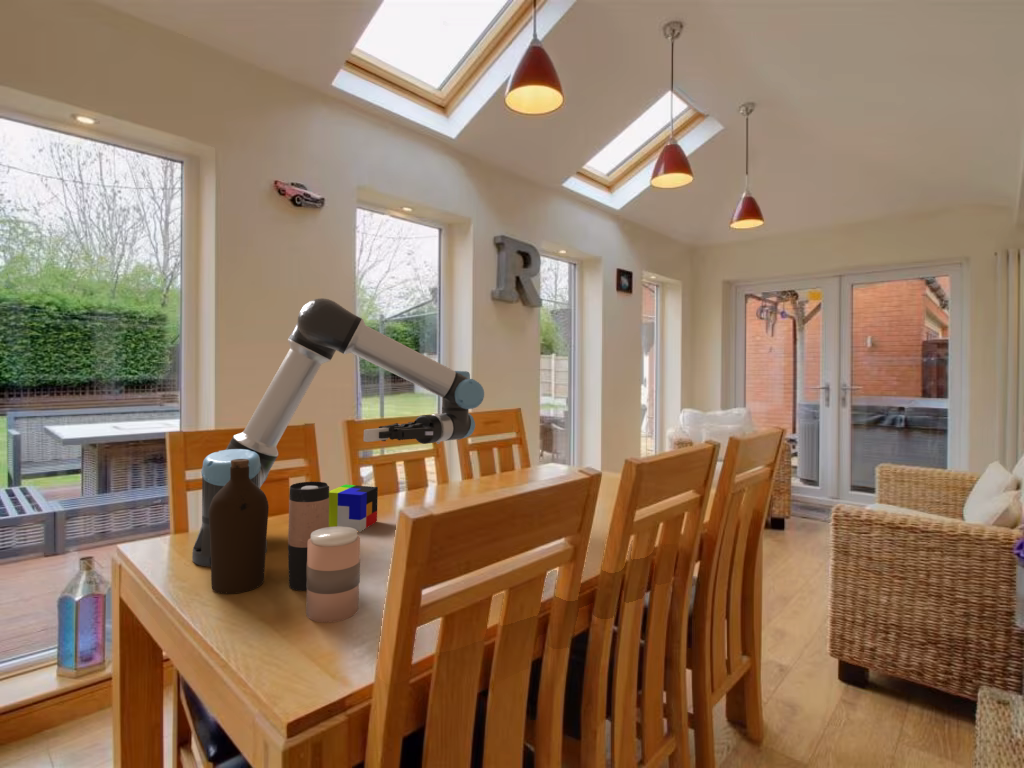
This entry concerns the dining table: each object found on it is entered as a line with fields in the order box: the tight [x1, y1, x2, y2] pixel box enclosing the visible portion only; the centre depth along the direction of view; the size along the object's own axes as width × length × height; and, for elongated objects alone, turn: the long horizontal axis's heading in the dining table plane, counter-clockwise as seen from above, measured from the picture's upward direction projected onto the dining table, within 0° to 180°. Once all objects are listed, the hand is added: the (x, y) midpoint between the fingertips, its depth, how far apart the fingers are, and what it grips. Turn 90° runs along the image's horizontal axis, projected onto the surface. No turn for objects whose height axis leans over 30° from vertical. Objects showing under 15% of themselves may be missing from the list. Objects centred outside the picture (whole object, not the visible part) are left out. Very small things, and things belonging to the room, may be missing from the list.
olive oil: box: [209, 459, 270, 595], centre depth 108 cm, size 11×11×25 cm
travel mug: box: [287, 481, 330, 592], centre depth 109 cm, size 8×8×20 cm
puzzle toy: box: [329, 484, 379, 533], centre depth 149 cm, size 10×10×10 cm
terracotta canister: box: [305, 526, 361, 623], centre depth 98 cm, size 9×9×14 cm
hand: (366, 435), depth 124 cm, fingers closed
